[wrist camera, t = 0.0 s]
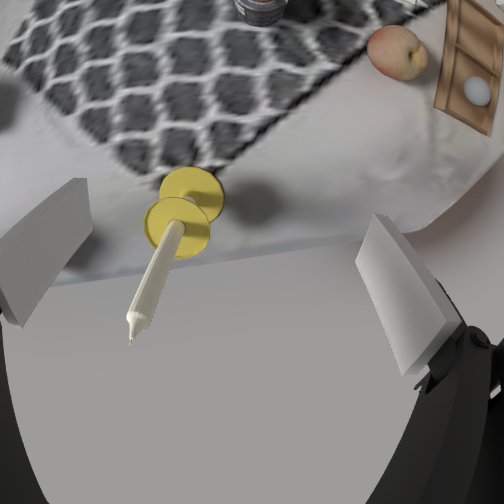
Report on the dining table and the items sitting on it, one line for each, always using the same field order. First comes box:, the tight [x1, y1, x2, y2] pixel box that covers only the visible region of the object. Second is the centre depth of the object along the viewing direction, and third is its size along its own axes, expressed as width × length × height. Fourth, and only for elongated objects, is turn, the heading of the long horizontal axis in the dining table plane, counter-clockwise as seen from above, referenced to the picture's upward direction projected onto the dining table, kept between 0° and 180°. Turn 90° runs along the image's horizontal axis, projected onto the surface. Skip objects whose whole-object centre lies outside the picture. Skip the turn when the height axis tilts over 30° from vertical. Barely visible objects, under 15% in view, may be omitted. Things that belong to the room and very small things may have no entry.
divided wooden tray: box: [433, 0, 504, 136], centre depth 24 cm, size 24×12×2 cm, turn 172°
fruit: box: [367, 25, 429, 81], centre depth 25 cm, size 8×8×8 cm
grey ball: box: [463, 76, 491, 106], centre depth 26 cm, size 5×5×5 cm
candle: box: [127, 166, 224, 345], centre depth 30 cm, size 10×10×27 cm
